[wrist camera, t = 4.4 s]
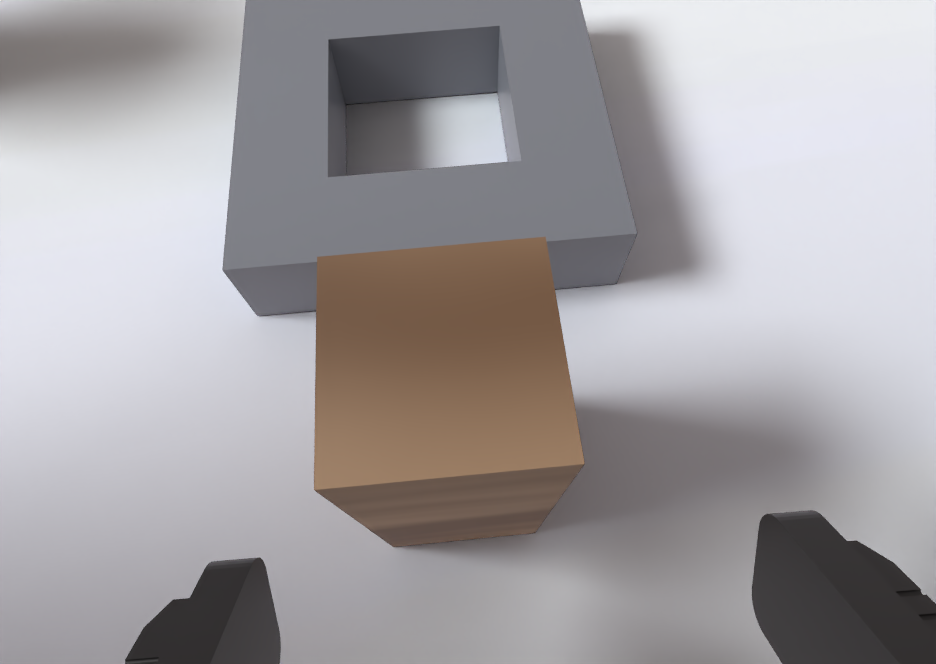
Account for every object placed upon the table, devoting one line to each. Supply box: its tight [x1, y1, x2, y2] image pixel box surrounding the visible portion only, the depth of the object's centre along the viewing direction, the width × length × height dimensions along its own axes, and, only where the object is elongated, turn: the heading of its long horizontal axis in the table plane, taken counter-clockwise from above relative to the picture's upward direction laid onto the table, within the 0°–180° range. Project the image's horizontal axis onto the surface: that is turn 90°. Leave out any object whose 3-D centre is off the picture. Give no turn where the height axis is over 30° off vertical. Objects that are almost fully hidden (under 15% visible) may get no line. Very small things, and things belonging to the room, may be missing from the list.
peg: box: [314, 237, 585, 547], centre depth 14 cm, size 4×4×9 cm
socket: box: [222, 0, 637, 316], centre depth 21 cm, size 12×12×3 cm
